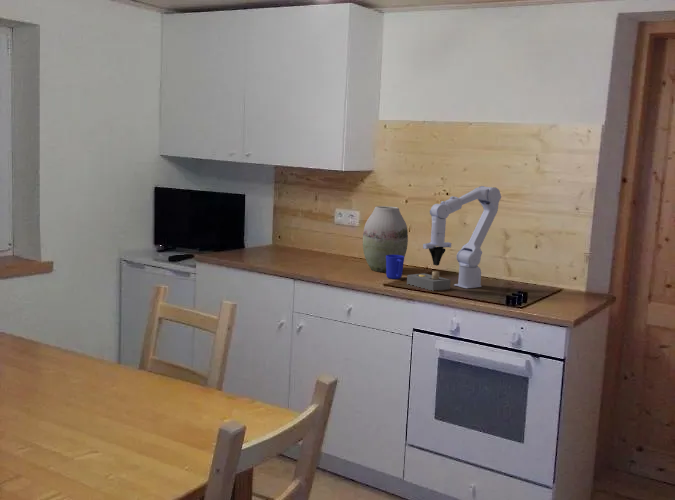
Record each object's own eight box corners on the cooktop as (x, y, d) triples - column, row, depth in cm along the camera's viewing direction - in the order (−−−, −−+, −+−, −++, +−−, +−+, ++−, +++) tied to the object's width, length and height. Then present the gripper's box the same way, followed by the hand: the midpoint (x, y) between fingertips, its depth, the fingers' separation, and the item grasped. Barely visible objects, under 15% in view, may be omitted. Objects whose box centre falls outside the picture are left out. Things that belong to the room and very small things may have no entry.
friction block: (423, 282, 318) (424, 273, 318) (450, 289, 306) (450, 279, 305) (406, 284, 312) (407, 275, 312) (432, 291, 300) (433, 281, 299)
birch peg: (435, 280, 308) (435, 271, 307) (440, 281, 305) (440, 272, 305) (430, 280, 306) (430, 271, 305) (435, 282, 303) (435, 272, 303)
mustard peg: (421, 283, 314) (422, 274, 314) (426, 284, 312) (427, 275, 311) (416, 284, 313) (417, 275, 312) (421, 285, 310) (422, 276, 310)
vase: (395, 266, 360) (398, 205, 355) (413, 273, 340) (417, 209, 335) (354, 266, 353) (357, 204, 348) (370, 274, 333) (374, 209, 329)
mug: (391, 281, 318) (392, 258, 316) (382, 276, 329) (383, 254, 328) (408, 281, 320) (410, 258, 318) (399, 276, 331) (400, 254, 330)
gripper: (443, 231, 310) (441, 262, 312) (418, 232, 302) (416, 264, 304) (455, 233, 305) (453, 265, 307) (430, 234, 296) (428, 267, 298)
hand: (436, 265), depth 305 cm, fingers closed
